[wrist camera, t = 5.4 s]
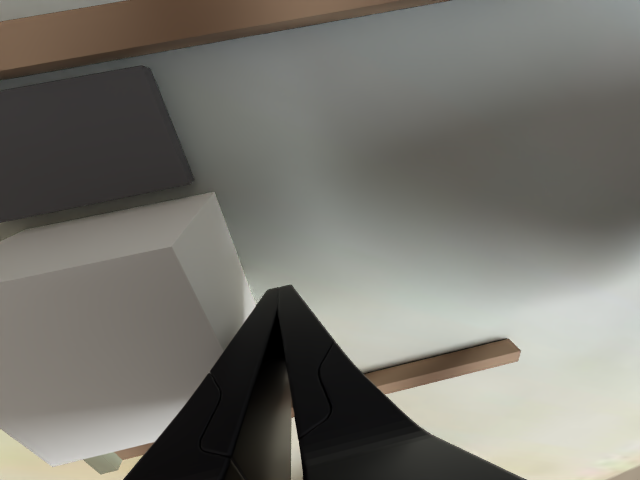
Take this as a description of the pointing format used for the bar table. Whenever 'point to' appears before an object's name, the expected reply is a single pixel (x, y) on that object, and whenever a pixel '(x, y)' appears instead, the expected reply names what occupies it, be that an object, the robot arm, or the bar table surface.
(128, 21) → the wood-trimmed serving tray
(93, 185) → the dark grey rectangular slab
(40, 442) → the block
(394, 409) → the robot arm
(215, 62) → the bar table surface
